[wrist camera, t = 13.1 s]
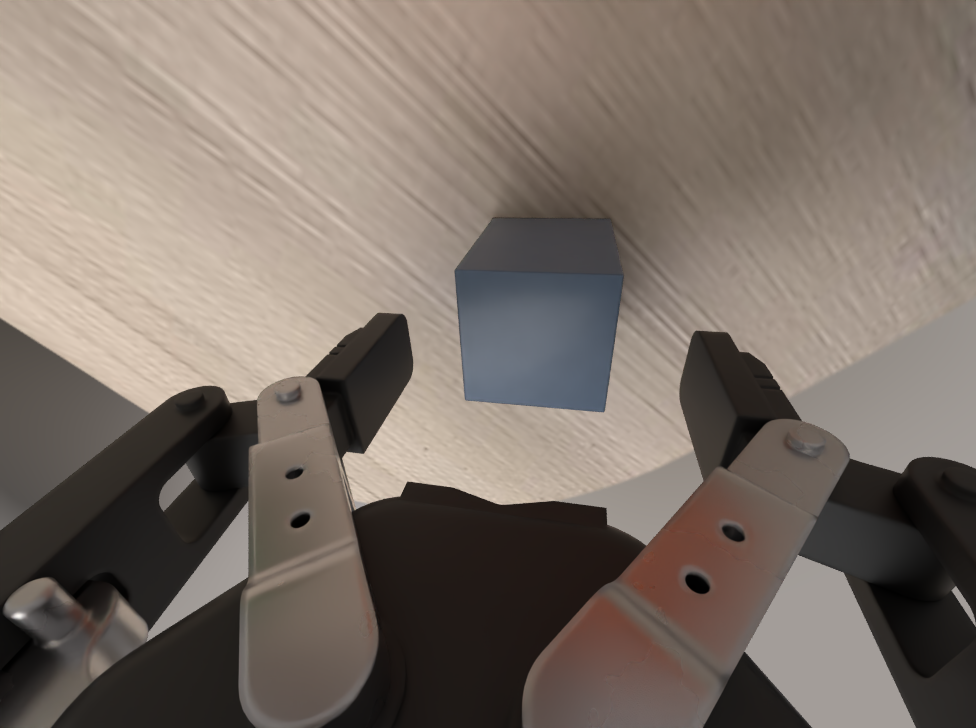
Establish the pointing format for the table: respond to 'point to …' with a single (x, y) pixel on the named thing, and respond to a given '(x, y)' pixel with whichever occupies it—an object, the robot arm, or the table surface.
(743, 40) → the table surface
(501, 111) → the table surface
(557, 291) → the block
